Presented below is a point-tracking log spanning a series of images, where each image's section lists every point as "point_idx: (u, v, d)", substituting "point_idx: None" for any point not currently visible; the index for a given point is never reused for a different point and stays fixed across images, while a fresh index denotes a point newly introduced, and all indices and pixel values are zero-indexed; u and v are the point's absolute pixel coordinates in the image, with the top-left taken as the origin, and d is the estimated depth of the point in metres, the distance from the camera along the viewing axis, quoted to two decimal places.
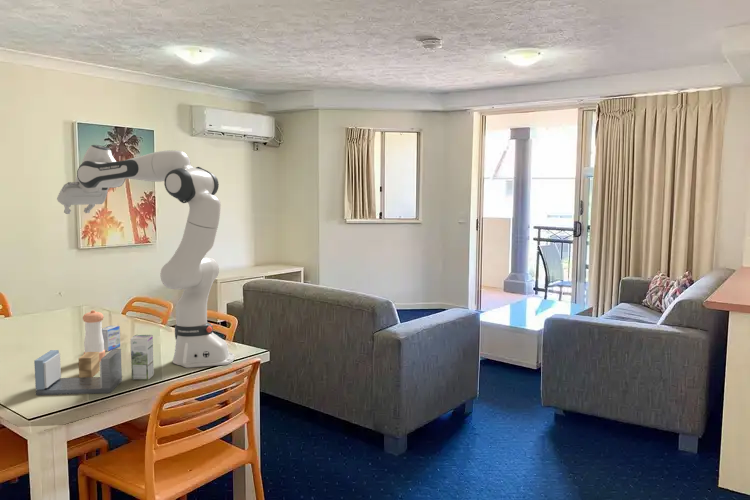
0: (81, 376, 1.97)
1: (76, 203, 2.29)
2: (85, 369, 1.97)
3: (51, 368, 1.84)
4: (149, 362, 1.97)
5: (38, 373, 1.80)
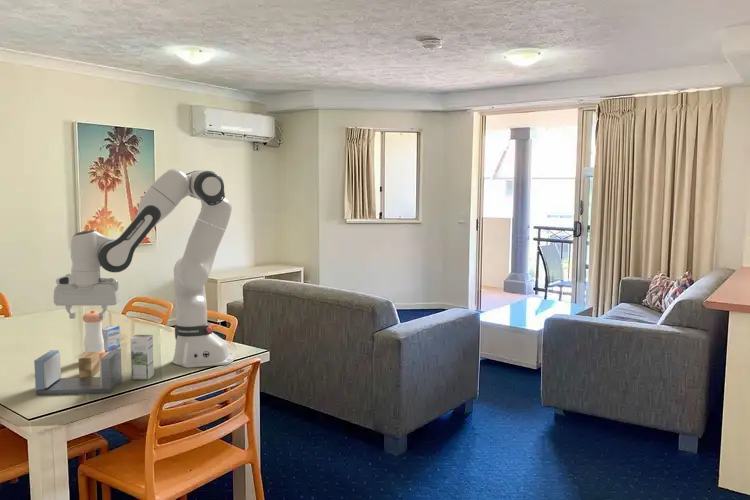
0: (81, 376, 1.97)
1: None
2: (85, 369, 1.97)
3: (51, 368, 1.84)
4: (149, 362, 1.97)
5: (38, 373, 1.80)
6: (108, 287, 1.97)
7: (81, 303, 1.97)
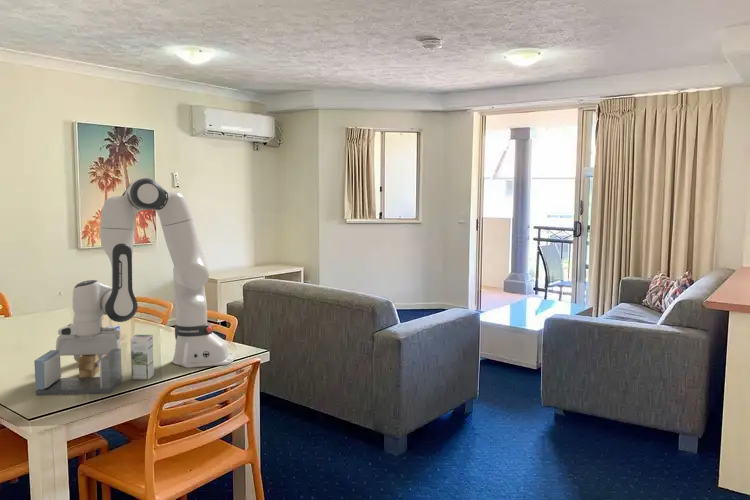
0: (81, 376, 1.97)
1: None
2: (85, 369, 1.97)
3: (51, 368, 1.84)
4: (149, 362, 1.97)
5: (38, 373, 1.80)
6: (109, 337, 1.99)
7: (83, 353, 1.98)
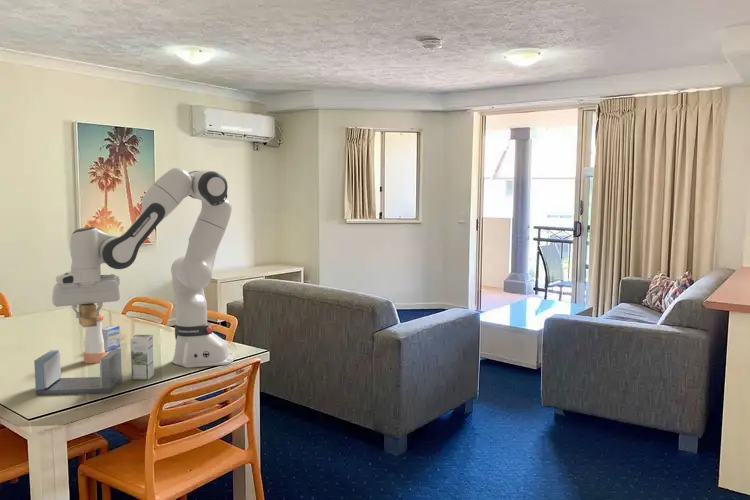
0: (85, 325, 1.91)
1: None
2: (90, 317, 1.92)
3: (51, 368, 1.84)
4: (149, 362, 1.97)
5: (38, 373, 1.80)
6: (112, 283, 1.97)
7: (84, 302, 1.92)
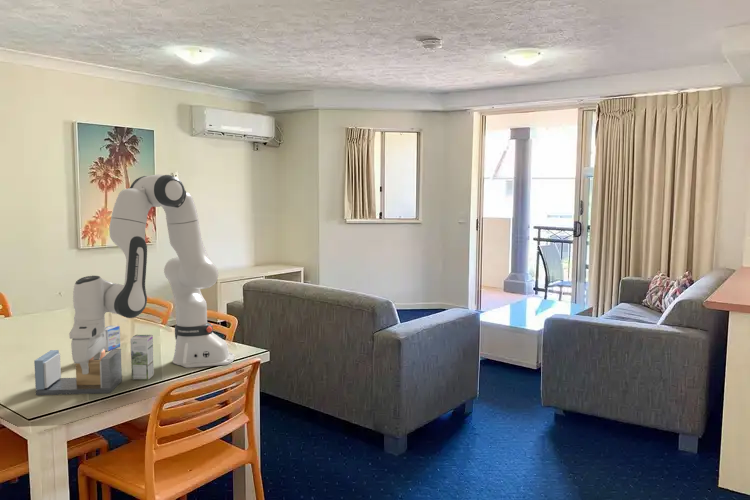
0: None
1: None
2: None
3: (51, 368, 1.84)
4: (149, 362, 1.97)
5: (38, 373, 1.80)
6: (104, 330, 1.94)
7: (95, 353, 1.86)
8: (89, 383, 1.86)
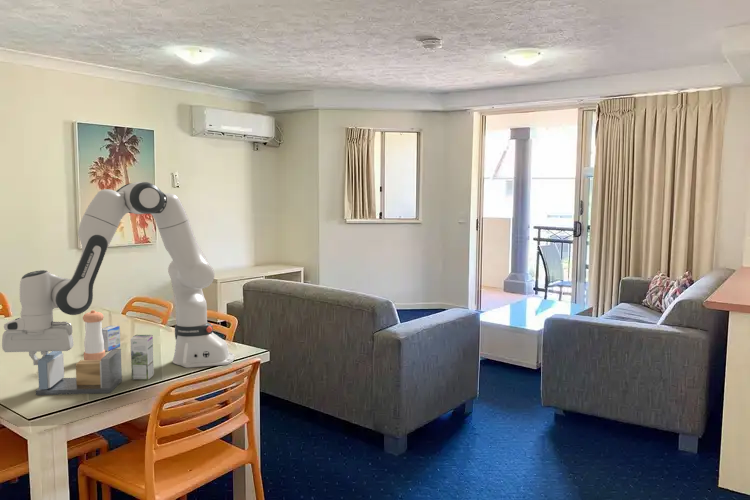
0: None
1: None
2: None
3: (54, 368, 1.84)
4: (149, 362, 1.97)
5: (41, 373, 1.80)
6: (60, 332, 1.83)
7: (32, 349, 1.83)
8: (89, 383, 1.86)
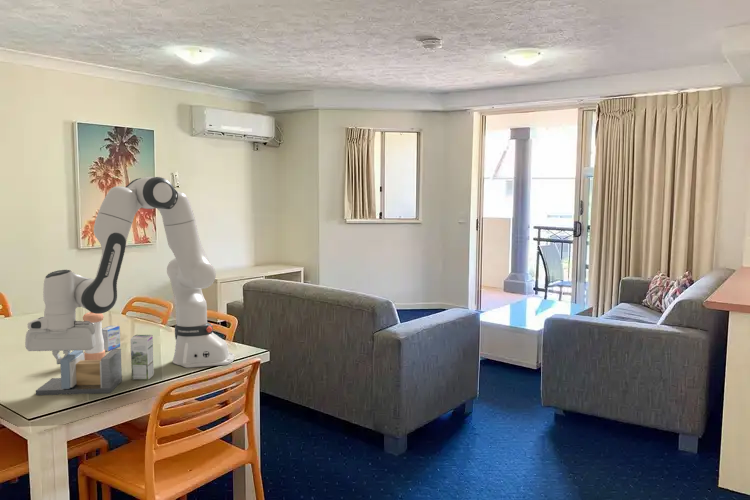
0: None
1: None
2: None
3: None
4: (149, 362, 1.97)
5: (64, 373, 1.80)
6: (83, 331, 1.84)
7: (55, 348, 1.84)
8: (89, 383, 1.86)
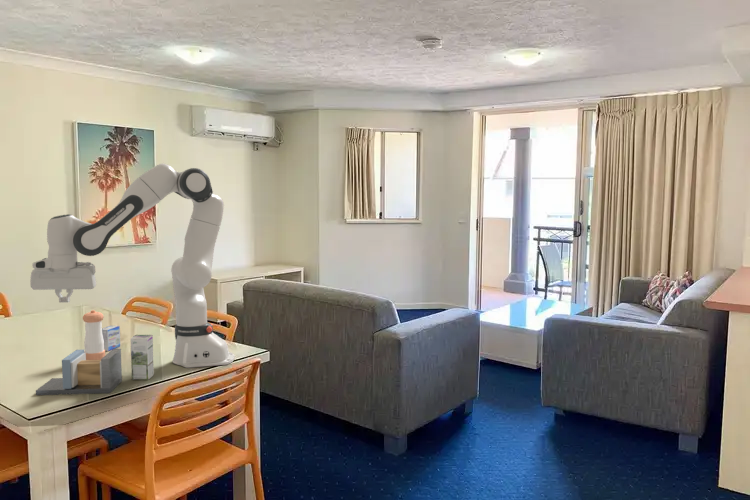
0: None
1: None
2: None
3: None
4: (149, 362, 1.97)
5: (65, 372, 1.81)
6: (84, 271, 1.98)
7: (58, 287, 1.97)
8: (91, 383, 1.86)
